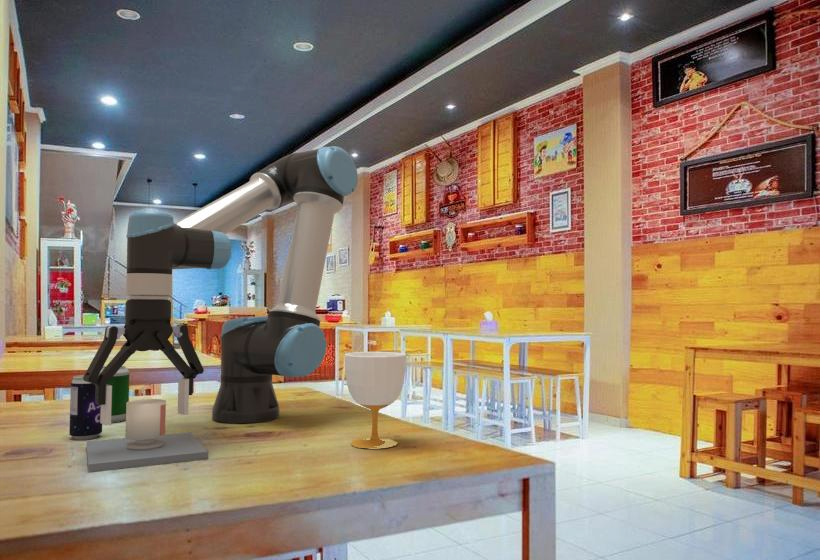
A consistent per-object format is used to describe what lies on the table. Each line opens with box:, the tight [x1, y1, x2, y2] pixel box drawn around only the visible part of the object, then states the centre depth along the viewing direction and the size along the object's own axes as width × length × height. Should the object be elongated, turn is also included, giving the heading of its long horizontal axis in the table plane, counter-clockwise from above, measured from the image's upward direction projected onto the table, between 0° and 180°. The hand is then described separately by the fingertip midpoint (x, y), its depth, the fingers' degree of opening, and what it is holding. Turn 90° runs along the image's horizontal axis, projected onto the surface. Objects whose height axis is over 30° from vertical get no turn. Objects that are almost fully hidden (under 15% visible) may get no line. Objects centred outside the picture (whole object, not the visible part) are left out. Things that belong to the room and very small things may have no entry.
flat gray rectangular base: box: [86, 431, 209, 473], centre depth 107 cm, size 18×18×3 cm
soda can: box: [99, 365, 131, 424], centre depth 137 cm, size 8×8×12 cm
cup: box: [344, 351, 407, 449], centre depth 115 cm, size 12×12×17 cm
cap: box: [125, 398, 167, 440], centre depth 107 cm, size 6×6×6 cm
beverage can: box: [68, 374, 103, 441], centre depth 119 cm, size 6×6×12 cm
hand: (146, 419), depth 107 cm, fingers open, 13 cm apart
